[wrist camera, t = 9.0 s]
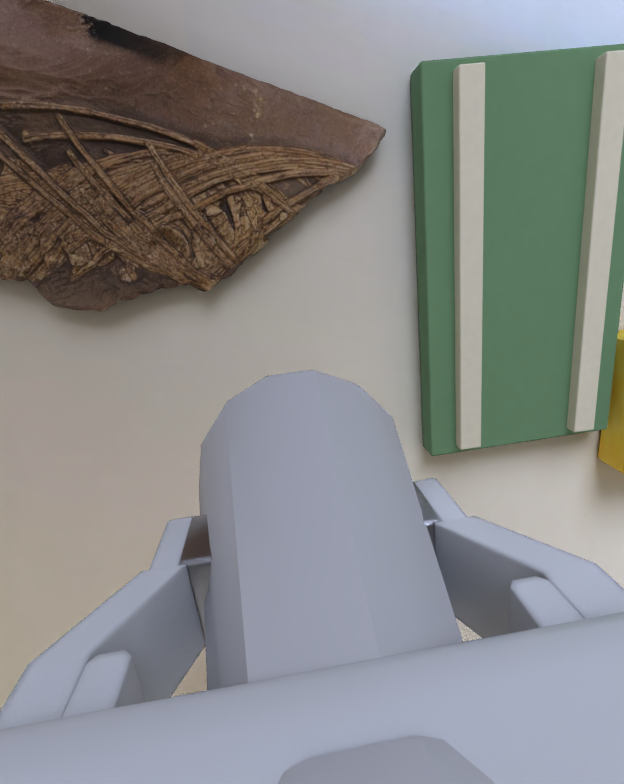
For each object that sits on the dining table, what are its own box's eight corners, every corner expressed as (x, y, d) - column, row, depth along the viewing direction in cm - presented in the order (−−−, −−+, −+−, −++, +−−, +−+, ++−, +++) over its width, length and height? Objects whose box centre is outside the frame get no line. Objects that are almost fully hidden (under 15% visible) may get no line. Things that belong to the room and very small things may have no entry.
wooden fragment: (-298, 306, 16) (-336, 309, 15) (-444, -63, 13) (-505, -91, 12) (368, 310, 19) (374, 313, 18) (385, 11, 16) (394, -6, 15)
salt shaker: (413, 433, 15) (1213, 1353, 2) (298, 540, 15) (435, 1656, 3) (294, 315, 13) (893, 1339, 1) (172, 440, 14) (-635, 2014, 1)
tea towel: (409, 74, 16) (426, 53, 15) (625, 55, 17) (664, 32, 15) (422, 446, 21) (435, 462, 20) (589, 420, 22) (617, 433, 20)
